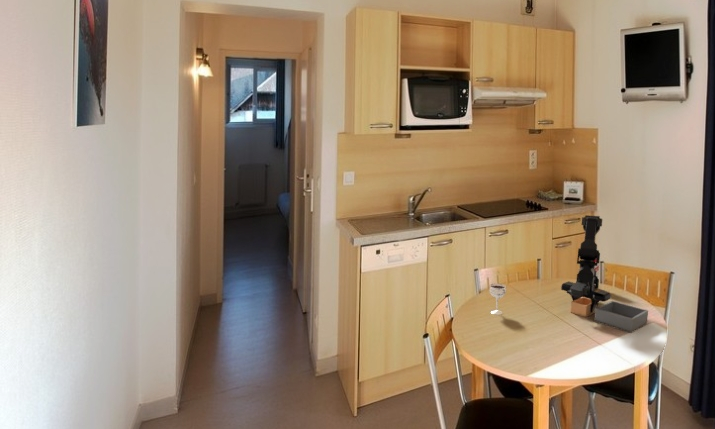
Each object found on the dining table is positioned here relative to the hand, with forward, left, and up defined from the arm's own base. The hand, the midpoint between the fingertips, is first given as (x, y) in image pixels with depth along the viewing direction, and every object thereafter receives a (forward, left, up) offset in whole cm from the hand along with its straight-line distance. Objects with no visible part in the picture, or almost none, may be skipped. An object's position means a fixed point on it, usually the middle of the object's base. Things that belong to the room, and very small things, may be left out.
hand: (583, 309), depth 195 cm
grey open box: (+15, +1, -1) cm, 15 cm away
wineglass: (-23, -29, -1) cm, 37 cm away
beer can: (-13, +31, -1) cm, 34 cm away
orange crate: (0, 0, -1) cm, 1 cm away
